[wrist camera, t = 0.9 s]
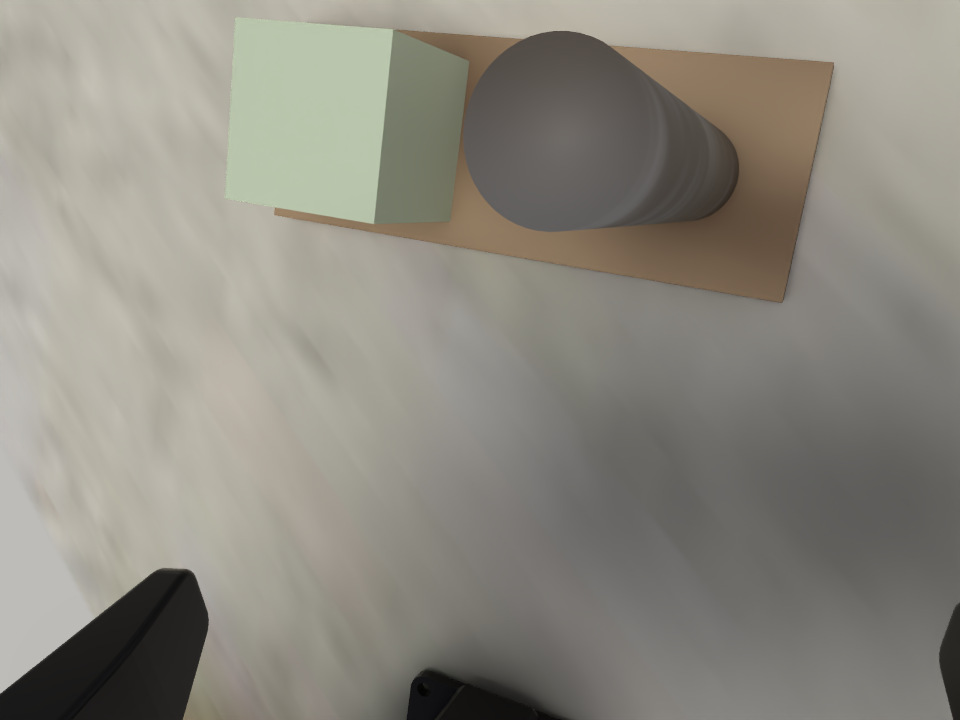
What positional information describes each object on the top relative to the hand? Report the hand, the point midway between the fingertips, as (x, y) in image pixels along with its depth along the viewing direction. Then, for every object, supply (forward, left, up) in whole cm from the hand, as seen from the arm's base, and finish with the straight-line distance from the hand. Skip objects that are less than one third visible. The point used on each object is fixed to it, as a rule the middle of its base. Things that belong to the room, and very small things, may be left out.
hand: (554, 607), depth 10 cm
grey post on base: (+6, +7, -15) cm, 17 cm away
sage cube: (+6, +11, -14) cm, 18 cm away
